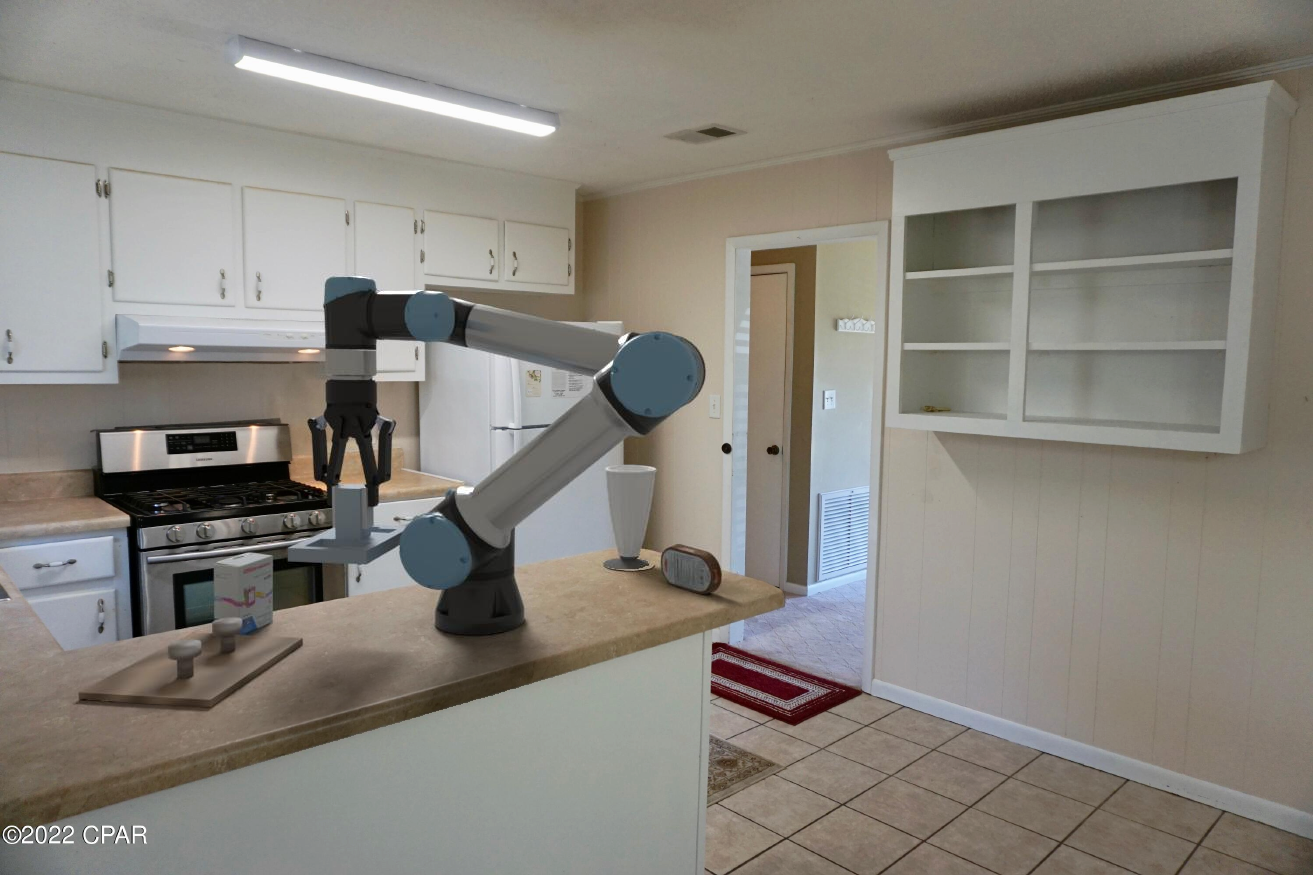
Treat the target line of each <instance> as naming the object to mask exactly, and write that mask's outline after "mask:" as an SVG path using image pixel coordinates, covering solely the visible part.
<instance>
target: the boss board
mask: <svg viewBox="0 0 1313 875" xmlns="http://www.w3.org/2000/svg"><path fill="white" fill-rule="evenodd" d="M241 631H242V619H241V618H236V617H229V618H222V619H218V620H215V621H212V623H211V632H195V631H194V632H191V633H190V634H188V635H186V636H183V637H181V638H180V639H178V640H176V641H174V642H172V643H171V642H170V643H169V644H168V645H167V646H164V647H162V648H161V649H159V650H157V651H155V652H152V653H151V654H149V655H147V656H145V657H143V658H142V659H140V660H138V661H136V662H134V663H132V664H130V665H128V666H126V667H125V668H122V669H121V670H118V671H117V672H115V673H113V674H111V675H109V676H107V677H105V678H103V679H102V680H100V681H97V682H96V683H94V684H92V685H89V686H87V687H86V688H85V689H82V690H80V691H79V692H78V700H79V699H87V700H86V701H91V700H104V701H103V702H109V701H113V702H112V703H114V701H116V702H115V703H127V704H129V703H131V704H146V705H147V704H149V705H162V706H163V705H164V706H165V705H166V706H181V707H199V708H200V707H201V708H212V707H214V706H215V705H216V704H218V703H219V702H221V701H222V700H224V699H225V698H226V697H228V696H229V695H231V694H232V693H234V692H236V691H237V690H238V689H240V688H241V687H242V686H244V685H245V684H247V683H249V682H250V681H251V680H253V679H254V678H256V677H257V676H259V675H261V673H263V672H264V671H267V669H269V668H270V667H272V666H273V665H275V664H276V663H278V662H279V661H280V660H282V659H283V658H285V657H286V656H288V655H289V654H290V653H291V654H292V653H293V651H295V650H296V649H298V648H300V647H301V646H302V645H304V641H303V640H304V638H303V637H293V636H275V635H274V636H269V635H254V634H253V635H252V634H251V635H250V634H245V635H235V634H237V633H239V632H241ZM106 700H107V701H106Z"/></svg>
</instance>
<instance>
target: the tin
mask: <svg viewBox="0 0 1313 875" xmlns="http://www.w3.org/2000/svg"><path fill="white" fill-rule="evenodd" d="M660 569H661V573H662V575H663V578H664V579H665V580H666V582H668V584H670V585H672V586H673V585H674V586H673V587H676V588H679V587H680V589H682V588H683V590H686V591H690V592H692V593H695V594H699V595H706V594H710V593H713V592H716V591H717V590H718V589H719V588H720V586H721V584H722V580H723V578H722V577H723V575H722V567H721V565H720V563H719V561H718V559H717V558H716V557H715V555H714V554H712V553H711V552H709V551H708V550H703V549H699V548H695V547H693V546H690V545H685V544H682V543H679V544H678V543H677V544H674V545H671V546H669V547H666V548H665V549H664V550H663V551H662V553H661V556H660Z"/></svg>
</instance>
